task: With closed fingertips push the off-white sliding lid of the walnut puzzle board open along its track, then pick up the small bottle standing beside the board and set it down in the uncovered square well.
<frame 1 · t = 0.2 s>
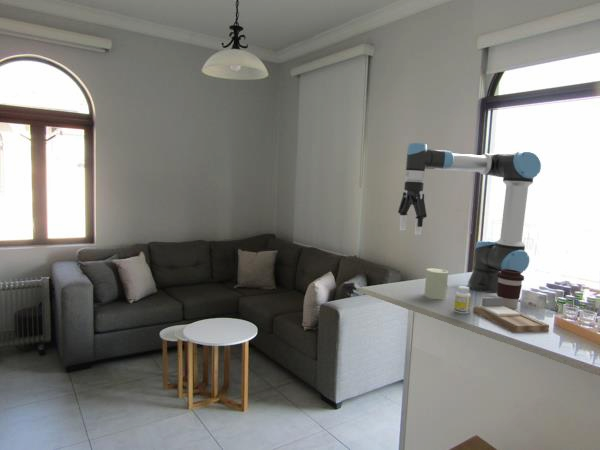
hand: (410, 232, 175), 28 cm above the countertop, fingers open, 13 cm apart
supplement bottle: (461, 312, 162), on the countertop
lid: (500, 306, 157), point 4 cm above the countertop, slide at 0.0 cm
coffee cup: (506, 306, 173), on the countertop
board: (508, 320, 154), on the countertop
can: (434, 297, 182), on the countertop
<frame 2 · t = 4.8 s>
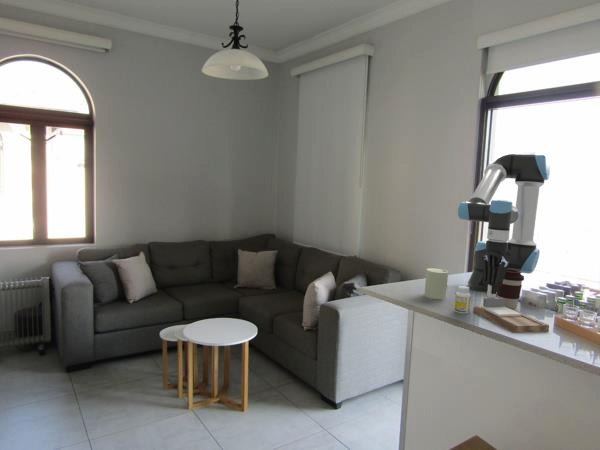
hand: (490, 301, 162), 5 cm above the countertop, fingers closed
lid: (501, 306, 156), point 4 cm above the countertop, slide at 0.7 cm, touching gripper
everything else where it was.
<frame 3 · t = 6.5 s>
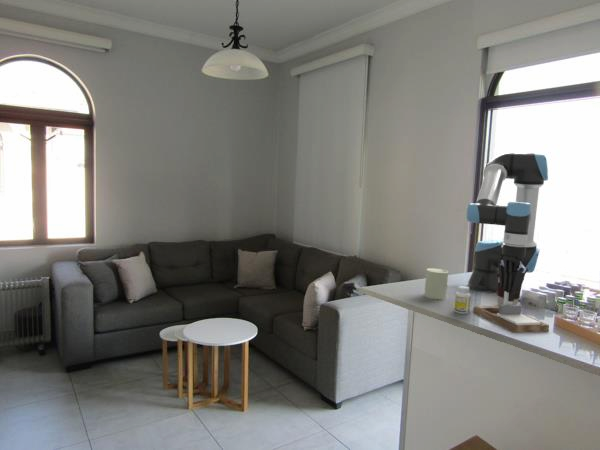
hand: (507, 309, 153), 4 cm above the countertop, fingers closed
lid: (518, 314, 148), point 4 cm above the countertop, slide at 9.6 cm, touching gripper
everything else where it was.
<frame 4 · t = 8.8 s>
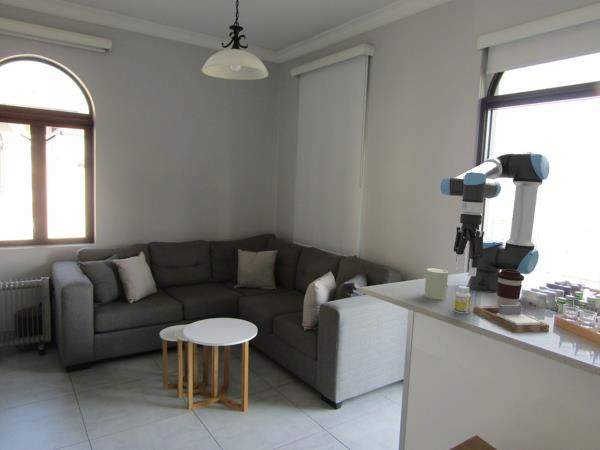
hand: (465, 273, 160), 15 cm above the countertop, fingers open, 7 cm apart
lid: (518, 314, 148), point 4 cm above the countertop, slide at 9.6 cm
everything else where it was.
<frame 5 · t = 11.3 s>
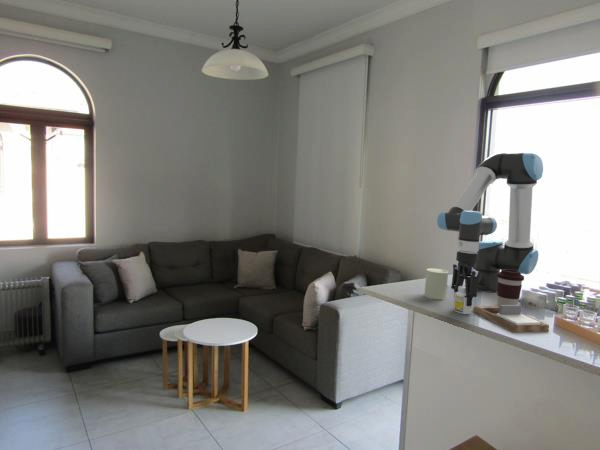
hand: (461, 311, 162), 0 cm above the countertop, fingers closed on supplement bottle, 5 cm apart
supplement bottle: (461, 312, 162), on the countertop, touching gripper
everything else where it was.
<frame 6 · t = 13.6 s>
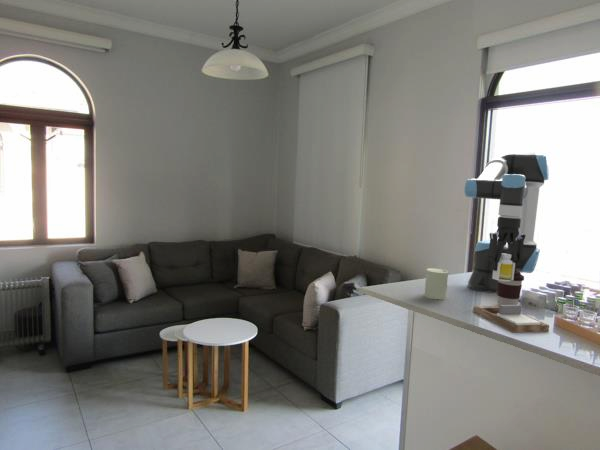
hand: (502, 279, 156), 15 cm above the countertop, fingers closed on supplement bottle, 5 cm apart
supplement bottle: (502, 280, 156), point 14 cm above the countertop, touching gripper
everything else where it was.
when the fingers open (2 cm above the countertop, at t = 16.1 s): supplement bottle drops 1 cm, resting on board.
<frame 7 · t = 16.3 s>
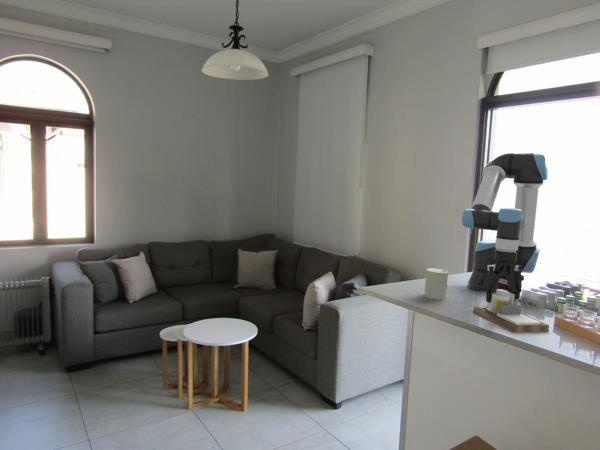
hand: (499, 310, 157), 3 cm above the countertop, fingers open, 8 cm apart
supplement bottle: (498, 316, 157), resting on board
everything else where it was.
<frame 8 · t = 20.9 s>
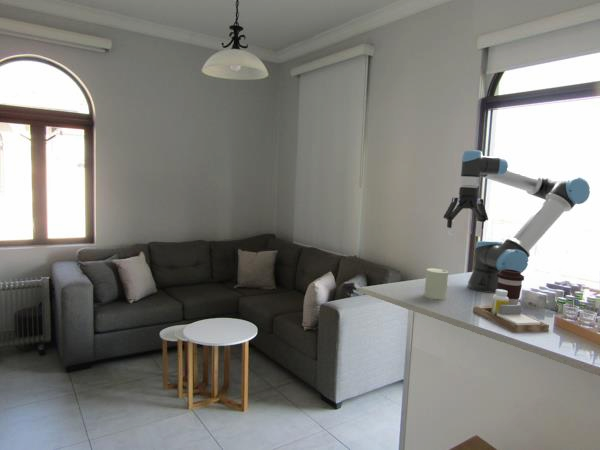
hand: (464, 235, 183), 27 cm above the countertop, fingers open, 13 cm apart
nothing on the countertop moved.
at the end: lid slide at 9.6 cm; supplement bottle inside the target area (0.1 cm from its centre), resting on board; supplement bottle tilted 0° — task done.
